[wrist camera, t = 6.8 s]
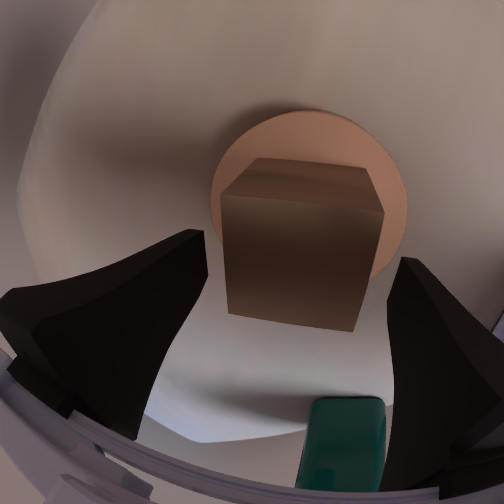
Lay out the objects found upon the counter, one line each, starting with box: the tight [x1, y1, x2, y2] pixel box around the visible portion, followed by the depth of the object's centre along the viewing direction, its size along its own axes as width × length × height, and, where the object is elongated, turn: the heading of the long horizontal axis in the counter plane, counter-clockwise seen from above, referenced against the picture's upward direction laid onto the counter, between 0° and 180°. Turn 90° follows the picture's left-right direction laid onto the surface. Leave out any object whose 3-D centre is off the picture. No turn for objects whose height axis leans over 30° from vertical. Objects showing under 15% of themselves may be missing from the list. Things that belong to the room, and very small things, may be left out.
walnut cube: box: [220, 158, 385, 332], centre depth 12 cm, size 5×5×5 cm
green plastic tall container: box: [294, 398, 386, 492], centre depth 19 cm, size 10×8×22 cm
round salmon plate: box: [210, 110, 408, 280], centre depth 15 cm, size 10×10×4 cm
